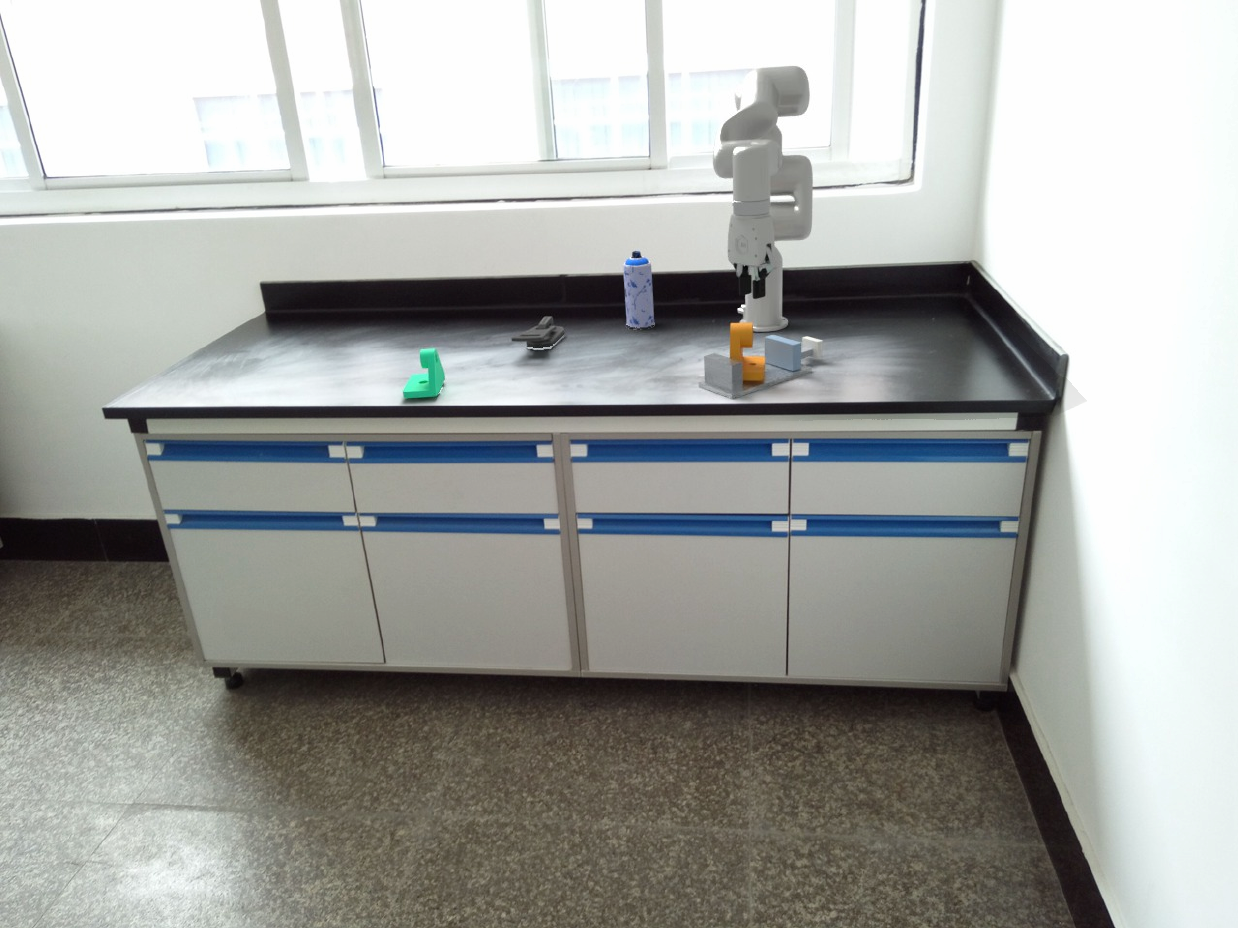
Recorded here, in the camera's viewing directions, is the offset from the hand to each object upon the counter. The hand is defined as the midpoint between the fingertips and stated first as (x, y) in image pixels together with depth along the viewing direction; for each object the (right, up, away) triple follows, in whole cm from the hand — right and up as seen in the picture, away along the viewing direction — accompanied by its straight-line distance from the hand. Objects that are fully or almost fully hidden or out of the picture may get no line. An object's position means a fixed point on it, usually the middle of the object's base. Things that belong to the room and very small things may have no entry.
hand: (752, 295), depth 194 cm
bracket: (0, -17, +8) cm, 18 cm away
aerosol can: (-23, +1, +54) cm, 58 cm away
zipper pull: (-49, -6, +41) cm, 64 cm away
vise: (+2, -17, +9) cm, 19 cm away
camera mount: (-73, -20, +16) cm, 77 cm away
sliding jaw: (+12, -12, +14) cm, 23 cm away
